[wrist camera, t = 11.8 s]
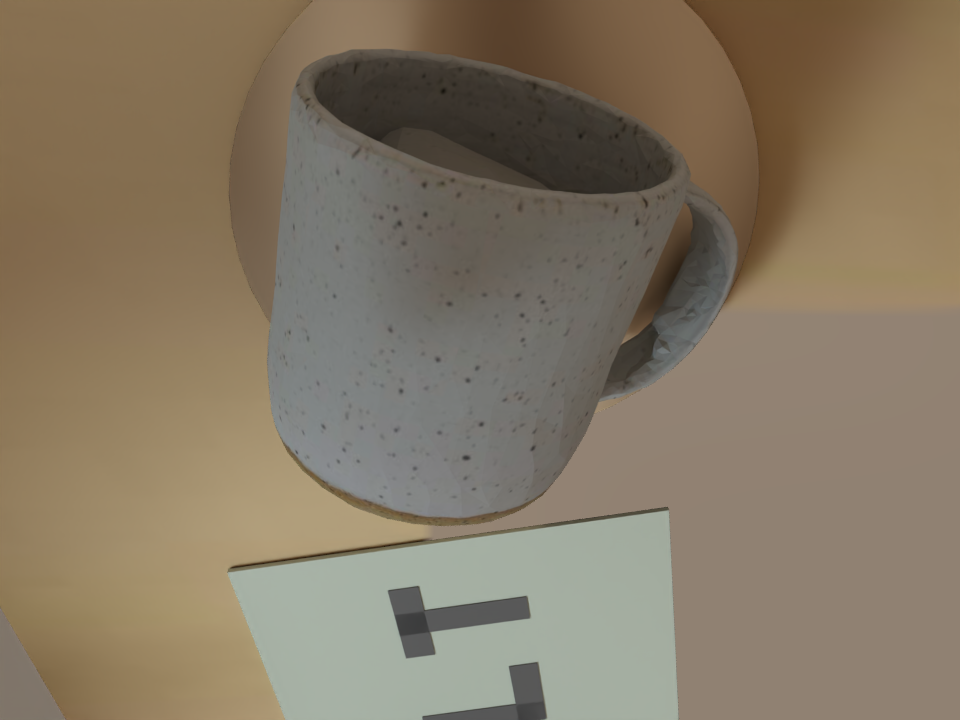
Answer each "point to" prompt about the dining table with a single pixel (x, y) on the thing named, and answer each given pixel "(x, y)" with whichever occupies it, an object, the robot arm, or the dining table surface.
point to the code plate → (475, 626)
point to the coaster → (534, 51)
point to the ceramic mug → (470, 279)
